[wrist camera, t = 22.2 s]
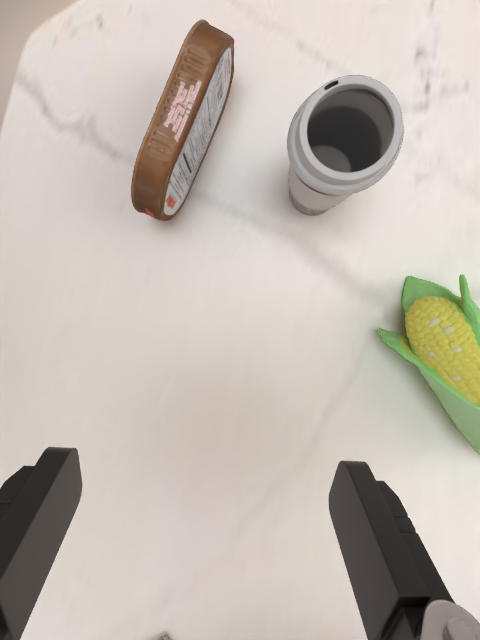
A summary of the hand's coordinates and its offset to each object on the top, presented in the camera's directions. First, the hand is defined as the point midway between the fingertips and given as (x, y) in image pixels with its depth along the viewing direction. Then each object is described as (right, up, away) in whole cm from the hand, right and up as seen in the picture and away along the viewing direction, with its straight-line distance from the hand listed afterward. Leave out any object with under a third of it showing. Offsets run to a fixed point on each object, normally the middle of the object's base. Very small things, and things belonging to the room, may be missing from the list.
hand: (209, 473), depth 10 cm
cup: (+8, +17, +21) cm, 28 cm away
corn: (+21, 0, +22) cm, 31 cm away
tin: (-3, +21, +21) cm, 30 cm away
